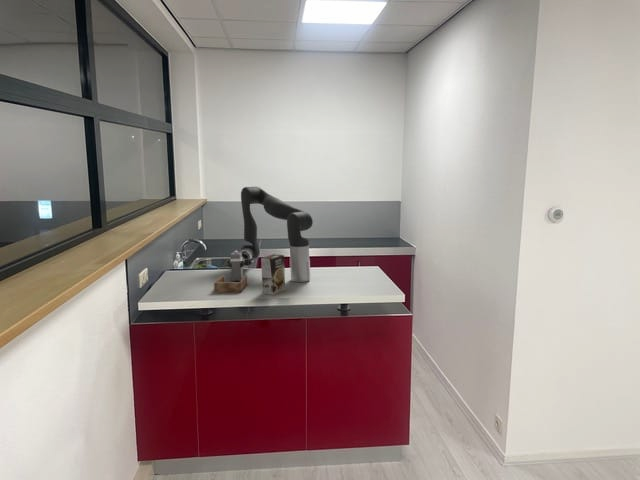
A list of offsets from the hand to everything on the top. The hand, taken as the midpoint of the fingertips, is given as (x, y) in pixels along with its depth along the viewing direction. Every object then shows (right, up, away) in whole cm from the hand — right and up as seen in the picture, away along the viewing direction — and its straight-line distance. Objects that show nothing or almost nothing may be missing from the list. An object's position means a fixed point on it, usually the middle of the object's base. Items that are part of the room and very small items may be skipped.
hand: (235, 265), depth 215 cm
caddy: (0, -10, -10) cm, 14 cm away
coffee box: (+20, -11, -16) cm, 28 cm away
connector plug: (0, -7, +4) cm, 8 cm away
